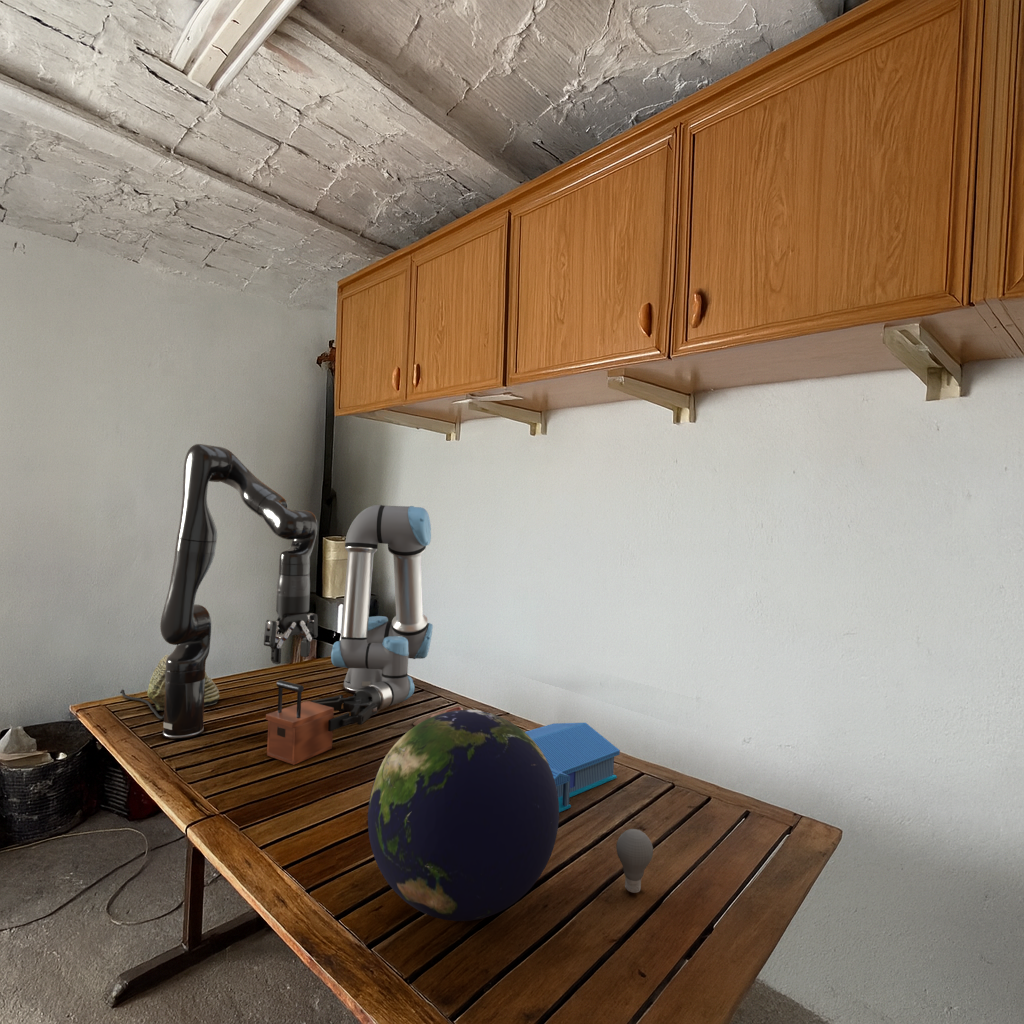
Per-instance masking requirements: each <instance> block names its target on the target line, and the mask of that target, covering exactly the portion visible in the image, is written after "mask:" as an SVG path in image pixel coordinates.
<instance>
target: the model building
mask: <svg viewBox="0 0 1024 1024" xmlns="http://www.w3.org/2000/svg"><path fill="white" fill-rule="evenodd" d="M524 732H525V733H526V734H527V735H528V736H529V737H530V738H531V739H532V740H533V741H534V742H535V743H536V744H537V746H538V747H539V748H540V750H541V751H542V753H543V754H544V756H545V758H546V760H547V761H548V764H549V766H550V769H551V771H552V774H553V777H554V780H555V784H556V788H557V793H558V801H559V813H562V812H563V811H566V810H569V809H571V808H572V805H571V804H570V798H572V797H575V796H577V795H580V794H582V793H585V792H587V791H589V790H591V789H594V788H597V787H599V786H601V785H603V784H605V783H609V782H610V781H613V780H615V779H617V778H618V776H617V775H616V774H614V771H615V770H614V768H615V767H614V765H615V757H617V756H620V754H621V750H620V749H619V748H618V747H617V746H616V745H614V744H613V743H612V742H611V741H610V740H607V738H605V737H604V736H603V735H601V734H600V733H599V732H598V731H597V730H596V729H594V728H593V727H592V726H591V725H589V724H588V723H587V722H560V723H559V722H558V723H555V722H554V723H550V724H546V725H544V726H543V725H542V726H540V727H537V728H533V729H530V730H526V731H524Z"/></svg>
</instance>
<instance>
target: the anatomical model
mask: <svg viewBox="0 0 1024 1024" xmlns="http://www.w3.org/2000/svg"><path fill="white" fill-rule="evenodd" d="M457 710H464V708H463V707H462V706H455V707H451V708H447V709H444V710H441V711H439V712H435V713H433V714H429V715H426V716H422V717H420V718H418V719H416V720H415V721H414V722H413V723H412V725H413V726H414V727H415V726H416V725H418V724H419V723H421V722H423V721H425V720H427V719H429V718H431V717H433V716H436V715H439V714H442V713H445V712H450V711H457Z"/></svg>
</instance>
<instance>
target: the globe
mask: <svg viewBox="0 0 1024 1024" xmlns="http://www.w3.org/2000/svg"><path fill="white" fill-rule="evenodd" d="M525 732H526V731H524V730H523V729H521V727H519V726H517V725H516V724H514V723H513V722H511V721H510V720H508V719H506V718H504V717H501V716H499V715H497V714H495V713H492V712H487V711H483V710H479V709H463V710H457V711H450V712H445V713H442V714H439V715H436V716H433V717H431V718H429V719H427V720H425V721H423V722H421V723H419V724H418V725H416V726H415V725H414V726H413V727H412V728H411V729H409V730H408V731H407V732H405V734H403V735H402V736H401V737H400V738H399V739H398V740H397V741H396V742H395V743H394V745H392V747H391V748H390V750H389V751H388V753H387V754H386V755H385V757H384V758H383V760H382V762H381V764H380V766H379V768H378V770H377V772H376V775H375V778H374V780H373V783H372V787H371V791H370V793H369V800H368V801H369V802H368V809H367V829H368V831H367V832H368V838H369V843H370V847H371V852H372V855H373V857H374V860H375V863H376V865H377V867H378V869H379V871H380V873H381V874H382V876H383V878H384V880H385V881H386V883H387V885H389V886H390V888H391V889H392V890H393V891H394V892H395V894H397V896H399V897H400V898H401V900H403V902H405V903H406V904H408V905H409V906H410V907H412V908H414V909H415V910H417V911H419V912H421V913H423V914H425V915H428V916H430V917H432V918H436V919H440V920H443V921H448V922H449V921H450V922H471V921H477V920H482V919H486V918H488V917H491V916H494V915H496V914H499V913H501V912H502V911H505V910H506V909H508V908H510V907H511V906H512V905H514V904H515V903H517V902H518V901H519V900H520V899H521V898H522V897H524V896H525V895H526V894H527V893H528V892H529V891H530V890H531V889H532V888H533V886H534V885H535V884H536V883H537V881H538V880H539V879H540V877H541V876H542V874H543V872H544V870H545V869H546V867H547V865H548V863H549V860H550V858H551V856H552V853H553V851H554V847H555V845H556V840H557V835H558V832H559V823H560V812H559V801H558V793H557V788H556V784H555V780H554V777H553V774H552V771H551V769H550V766H549V764H548V761H547V760H546V758H545V756H544V754H543V753H542V751H541V750H540V748H539V747H538V746H537V744H536V743H535V742H534V741H533V740H532V739H531V738H530V737H529V736H528V735H527V734H526V733H525Z"/></svg>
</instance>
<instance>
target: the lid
mask: <svg viewBox="0 0 1024 1024" xmlns="http://www.w3.org/2000/svg"><path fill="white" fill-rule="evenodd" d="M276 687H277V688H278V691H277V694H278V695H277V710H275V711H272V712H269V713H266V714H265V720H266V721H268V720H269V721H272V722H275V723H278V724H282V725H285V726H288V727H292V728H294V727H297V726H299V725H302V724H305V723H308V722H310V721H313V720H316V719H318V718H321V717H324V716H326V715H329V714H332V713H334V712H335V711H334V708H332V707H329V706H325V705H321V704H318V703H314V702H310V701H311V700H310V701H309V700H305V701H302V693H303V692H304V689H305V687H304V685H302V684H299V683H295V682H290V681H285V680H283V679H279V680H277V681H276ZM283 689H284V690H287V691H291V692H295V693H296V699H297V700H296V704H292V705H290V706H287V707H284V708H283V691H284V690H283ZM334 714H335V713H334Z"/></svg>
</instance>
